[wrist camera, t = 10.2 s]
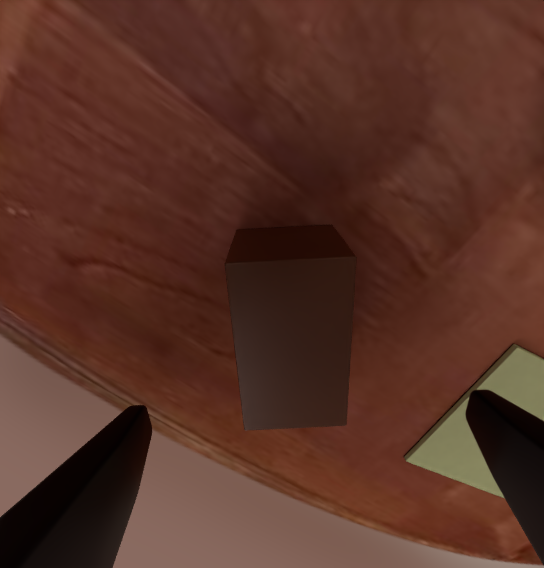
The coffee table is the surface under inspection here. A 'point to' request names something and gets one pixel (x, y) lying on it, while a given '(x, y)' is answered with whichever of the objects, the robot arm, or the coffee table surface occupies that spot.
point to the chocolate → (292, 324)
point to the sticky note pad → (457, 434)
